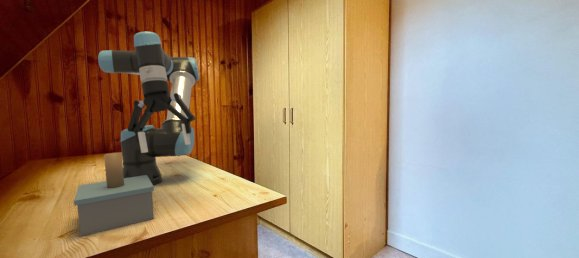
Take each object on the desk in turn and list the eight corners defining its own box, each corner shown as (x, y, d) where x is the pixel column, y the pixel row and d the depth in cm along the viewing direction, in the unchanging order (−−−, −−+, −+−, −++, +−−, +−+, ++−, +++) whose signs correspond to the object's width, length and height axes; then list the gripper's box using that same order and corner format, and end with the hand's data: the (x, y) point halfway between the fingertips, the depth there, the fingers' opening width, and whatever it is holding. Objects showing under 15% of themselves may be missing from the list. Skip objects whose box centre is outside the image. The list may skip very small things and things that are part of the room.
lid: (79, 192, 75) (75, 154, 73) (147, 181, 84) (144, 147, 83) (74, 209, 62) (69, 163, 61) (154, 194, 72) (151, 154, 71)
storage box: (84, 216, 75) (81, 189, 74) (147, 203, 84) (145, 179, 83) (80, 236, 64) (77, 204, 63) (153, 218, 73) (151, 190, 72)
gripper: (107, 87, 79) (119, 156, 78) (189, 72, 79) (202, 141, 79) (122, 91, 86) (133, 155, 86) (197, 77, 87) (209, 140, 86)
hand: (166, 148), depth 82 cm, fingers open, 13 cm apart
